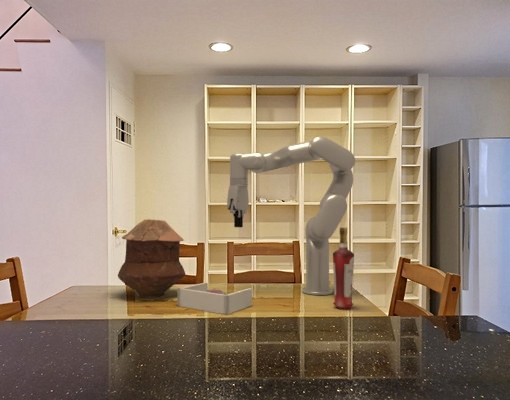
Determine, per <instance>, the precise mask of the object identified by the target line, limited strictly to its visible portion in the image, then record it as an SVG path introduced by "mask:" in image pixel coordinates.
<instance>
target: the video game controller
mask: <svg viewBox="0 0 510 400" xmlns="http://www.w3.org/2000/svg"><path fill="white" fill-rule="evenodd" d="M206 292H210V293H217V294H224V295H227V294H228V293H226V292H224V291H223V290H221V289H216V288H213V289H207V291H206Z"/></svg>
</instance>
